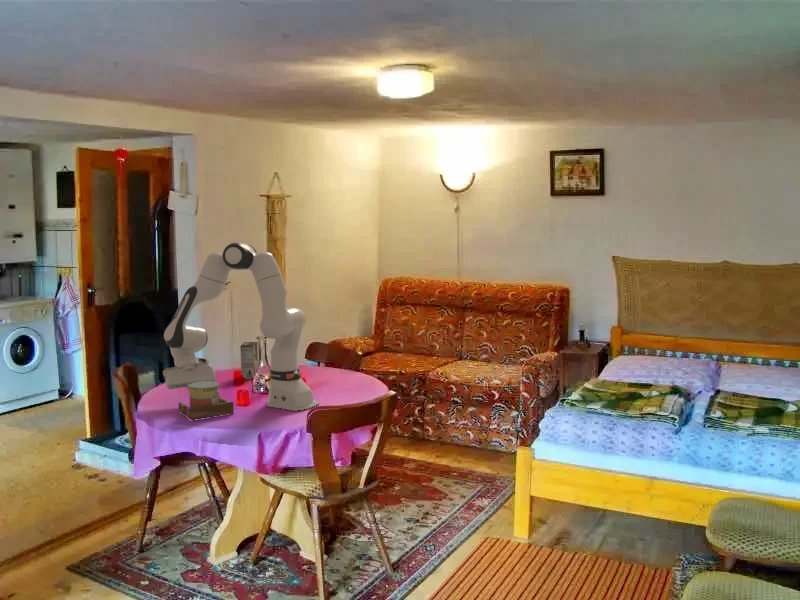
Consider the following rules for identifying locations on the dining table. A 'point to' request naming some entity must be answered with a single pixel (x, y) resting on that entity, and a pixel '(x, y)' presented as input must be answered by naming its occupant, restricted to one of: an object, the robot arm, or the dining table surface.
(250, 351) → the coffee box
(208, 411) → the box
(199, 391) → the canned food
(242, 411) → the dining table surface
